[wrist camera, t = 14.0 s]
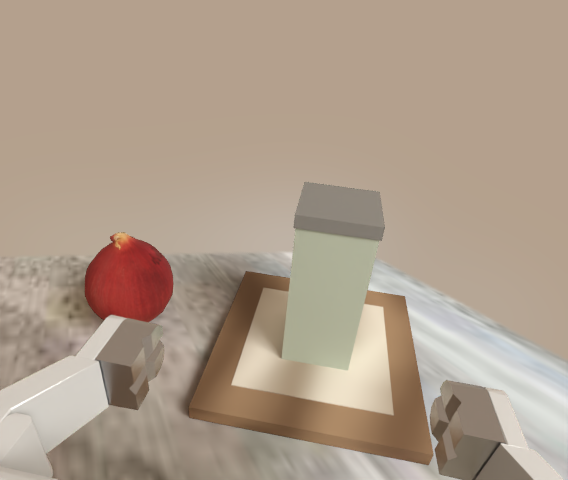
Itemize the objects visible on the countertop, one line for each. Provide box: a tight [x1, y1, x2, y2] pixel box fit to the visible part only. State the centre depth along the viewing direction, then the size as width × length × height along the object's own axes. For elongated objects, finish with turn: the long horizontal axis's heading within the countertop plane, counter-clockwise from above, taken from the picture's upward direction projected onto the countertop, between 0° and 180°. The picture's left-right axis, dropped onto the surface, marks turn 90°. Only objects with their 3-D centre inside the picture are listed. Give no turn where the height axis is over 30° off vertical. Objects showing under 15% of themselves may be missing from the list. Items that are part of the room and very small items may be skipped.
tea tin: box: [281, 182, 385, 371], centre depth 25 cm, size 5×5×11 cm
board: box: [189, 271, 433, 465], centre depth 28 cm, size 14×14×1 cm
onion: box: [85, 232, 173, 322], centre depth 27 cm, size 6×6×8 cm
